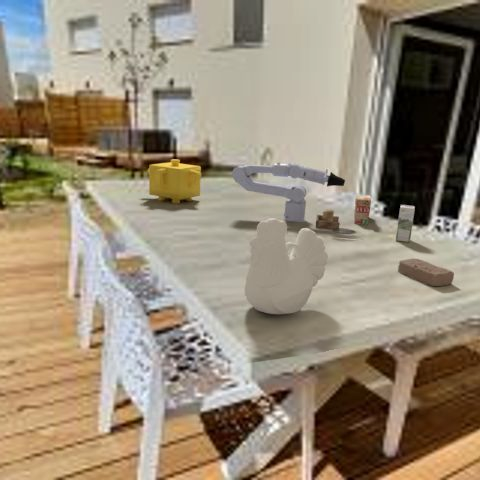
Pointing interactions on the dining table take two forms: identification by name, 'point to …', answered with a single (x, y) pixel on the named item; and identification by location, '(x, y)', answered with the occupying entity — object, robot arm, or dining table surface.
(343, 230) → the slate coaster
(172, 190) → the cube teapot
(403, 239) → the syrup box
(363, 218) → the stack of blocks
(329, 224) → the crate
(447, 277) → the brick
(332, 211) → the oak block
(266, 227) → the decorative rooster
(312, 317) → the dining table surface
